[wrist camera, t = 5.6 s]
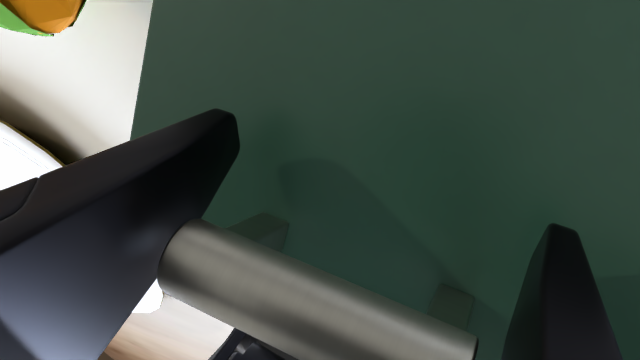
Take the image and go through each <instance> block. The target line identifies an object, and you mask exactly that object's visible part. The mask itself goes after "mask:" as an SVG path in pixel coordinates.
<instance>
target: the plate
mask: <svg viewBox="0 0 640 360" xmlns="http://www.w3.org/2000/svg"><path fill="white" fill-rule="evenodd" d="M63 166H66V165H65V164H64V163H62V162H61V161H60V160H59V159H58V158H56V157H55V156H54V155H53V154H52V153H50V152H49V151H48V150H47V149H45V148H44V147H42V146H41V145H39V144H38V143H36V142H35V141H33V140H32V139H30V138H29V137H28V136H26V135H25V134H23V133H22V132H20V131H19V130H17V129H16V128H14V127H13V126H11V125H10V124H8V123H6V122H4V121H2V120H0V190H2V189H5V188H8V187H11V186H13V185H16V184H19V183H21V182H24V181H26V180H29V179H32V178H34V177H38V178H39V176H40V175H42V174H45V173H47V172H50V171H53V170H55V169H58V168H60V167H63ZM163 296H164V292H163V291H162V290H161V289H160V287H159V285H158V282H157V279H156V280H155V282H154V283H153V284H152V286H151V287H150V288H149V290H148V291H147V292H146V294H145V295H144V297H143V298H142V299H141V301H140V302H139V303H138V305H137V306H136V307H135V309H134V310H133V312H141V313H150V312H152V311H154V310H156V309H158V308H160V306H161V303H162V299H163Z"/></svg>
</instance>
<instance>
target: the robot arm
mask: <svg viewBox="0 0 640 360" xmlns="http://www.w3.org/2000/svg"><path fill="white" fill-rule="evenodd" d="M239 151H240V139H239V132H238V126H237V120H236V117H235V115H234V114H232V113H230V112H227V111H224V110H221V109H217V108H215V109H211V110H208V111H206V112H203V113H201V114H198V115H195V116H193V117H190V118H188V119H185V120H182V121H180V122H177V123H175V124H172V125H169V126H167V127H164V128H162V129H159V130H156V131H154V132H151V133H149V134H146V135H143V136H141V137H138V138H136V139H133V140H130V141H128V142H125V143H123V144H120V145H117V146H115V147H112V148H110V149H107V150H105V151H102V152H99V153H97V154H94V155H92V156H89V157H86V158H84V159H81V160H79V161H76V162H73V163H71V164H68V165H66V166H63V167H60V168H58V169H55V170H53V171H50V172H47V173H45V174H42V175H40V176H39V178H38V177H34V178H32V179H29V180H26V181H24V182H21V183H19V184H16V185H13V186H11V187H8V188H5V189H2V190H0V360H97V359H98V358H99V356H100V355H101V354H102V352H103V351H104V350H105V348H106V347H107V345H108V344H109V343H110V341H111V340H112V339H113V337H114V336H115V335H116V333H117V332H118V331H119V329H120V328H121V326H122V325H123V324H124V322H125V321H126V320H127V318H128V317H129V316H130V314H131V313H132V312H133V310H134V309H135V307H136V306H137V305H138V303H139V302H140V301H141V299H142V298H143V297H144V295H145V294H146V292H147V291H148V290H149V288H150V287H151V286H152V284H153V283H154V282H155V280H156V279H157V270H158V265H159V261H160V258H161V255H162V253H163V251H164V248H165V246H166V245H167V243H168V241H169V240H170V238H171V237H172V235H173V234H174V233H175V232H176V231H177V230H178V229H179V228H180V227H181V226H182V225H183V224H184V223H186V222H187V221H189V220H192V219H201V218H202V216H203V215H204V213H205V211H206V210H207V208H208V207H209V205H210V203H211V201H212V200H213V198H214V196H215V195H216V193H217V191H218V189H219V188H220V186H221V184H222V182H223V181H224V179H225V177H226V175H227V174H228V172H229V170H230V169H231V167H232V165H233V163H234V162H235V160H236V158H237V156H238V154H239ZM208 360H299V359H297V358H295V357H293V356H291V355H289V354H287V353H285V352H283V351H281V350H279V349H277V348H275V347H273V346H271V345H269V344H267V343H265V342H263V341H261V340H259V339H257V338H255V337H253V336H251V335H249V334H246V333H244V332H242V331H240V330H238V329H236V328H234V329H233V331H232V332H231V334H230V335H229V337H228V338H227V339H226V341H225V342H224V343H223V344H222V345H221V346H220V347H219V348H218V349H217V351H216V352H215V353H214V354H213V355H212V356H211V357H210V358H209V359H208ZM501 360H623V357H622V355H621V352H620V349H619V346H618V343H617V341H616V338H615V335H614V332H613V329H612V327H611V324H610V321H609V318H608V315H607V312H606V310H605V307H604V304H603V301H602V298H601V296H600V293H599V290H598V287H597V284H596V282H595V279H594V276H593V273H592V270H591V268H590V265H589V262H588V259H587V256H586V253H585V251H584V248H583V245H582V242H581V239H580V237H579V234H578V233H577V232H576V231H575V230H573V229H571V228H568V227H565V226H562V225H559V224H556V223H551V224H549V225H548V226H547V228H546V230H545V232H544V234H543V236H542V237H541V239H540V241H539V243H538V245H537V247H536V249H535V251H534V252H533V255H532V257H531V259H530V262H529V265H528V268H527V272H526V275H525V278H524V281H523V284H522V287H521V291H520V294H519V297H518V300H517V303H516V306H515V309H514V313H513V316H512V319H511V322H510V325H509V328H508V332H507V336H506V339H505V343H504V348H503V353H502V358H501Z"/></svg>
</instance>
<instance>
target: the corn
mask: <svg viewBox="0 0 640 360" xmlns="http://www.w3.org/2000/svg"><path fill="white" fill-rule="evenodd" d="M85 2H86V0H0V27H2V28H5V29H9V30H12V31H17V32H23V33H28V34H32V35H40V36H54V34H51V35H49V34H50V33H60V32H61V31H62V30H64V29H65V28H67V27H71V26H73V24H74V23H75V21H76V20H77V18H78V16H79V14H80V12H81V11H82V9H83V7H84V5H85Z"/></svg>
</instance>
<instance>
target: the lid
mask: <svg viewBox="0 0 640 360" xmlns="http://www.w3.org/2000/svg"><path fill="white" fill-rule="evenodd" d="M215 108H217V109H221V110H224V111H227V112H230V113H232V114H234V115H235V117H236V120H237V126H238V132H239V139H240V151H239V154H238V156H237V158H236V160H235V162H234V163H233V165H232V167H231V169H230V170H229V172H228V174H227V175H226V177H225V179H224V181H223V182H222V184H221V186H220V188H219V189H218V191H217V193H216V195H215V196H214V198H213V200H212V201H211V203H210V205H209V207H208V208H207V210H206V211H205V213H204V215H203V216H202V218H201V219H192V220H189V221H187V222H186V223H184V224H183V225H182V226H181V227H180V228H179V229H178V230H177V231H176V232H175V233H174V234H173V235H172V237H171V238H170V240H169V241H168V243H167V245H166V246H165V248H164V251H163V253H162V255H161V258H160V261H159V265H158V270H157V282H158V285H159V287H160V289H161V290H162V291H163V292H164V293H166V294H168V295H170V296H172V297H174V298H176V299H178V300H180V301H182V302H184V303H186V304H188V305H190V306H192V307H194V308H196V309H198V310H200V311H202V312H204V313H206V314H208V315H210V316H212V317H214V318H216V319H218V320H220V321H222V322H224V323H226V324H228V325H230V326H232V327H234V328H236V329H238V330H240V331H242V332H244V333H246V334H249V335H251V336H253V337H255V338H257V339H259V340H261V341H263V342H265V343H267V344H269V345H271V346H273V347H275V348H277V349H279V350H281V351H283V352H285V353H287V354H289V355H291V356H293V357H295V358H297V359H299V360H501V358H502V353H503V348H504V343H505V339H506V336H507V332H508V328H509V325H510V322H511V319H512V316H513V313H514V309H515V306H516V303H517V300H518V297H519V294H520V291H521V287H522V284H523V281H524V278H525V275H526V272H527V268H528V265H529V262H530V259H531V257H532V255H533V252H534V251H535V249H536V247H537V245H538V243H539V241H540V239H541V237H542V236H543V234H544V232H545V230H546V228H547V226H548V225H549V224H551V223H556V224H559V225H562V226H565V227H568V228H571V229H573V230H575V231H576V232H577V233H578V234H579V237H580V239H581V242H582V245H583V248H584V251H585V253H586V256H587V259H588V262H589V265H590V268H591V270H592V273H593V276H594V279H595V282H596V284H597V287H598V290H599V293H600V296H601V298H602V301H603V304H604V307H605V310H606V312H607V315H608V318H609V321H610V324H611V327H612V329H613V332H614V335H615V338H616V341H617V343H618V346H619V349H620V352H621V355H622V357H623V360H640V0H153V5H152V11H151V17H150V23H149V29H148V35H147V41H146V47H145V53H144V59H143V65H142V71H141V77H140V83H139V89H138V95H137V101H136V107H135V113H134V119H133V125H132V131H131V137H130V140H133V139H136V138H138V137H141V136H143V135H146V134H149V133H151V132H154V131H156V130H159V129H162V128H164V127H167V126H169V125H172V124H175V123H177V122H180V121H182V120H185V119H188V118H190V117H193V116H195V115H198V114H201V113H203V112H206V111H208V110H211V109H215Z"/></svg>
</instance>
